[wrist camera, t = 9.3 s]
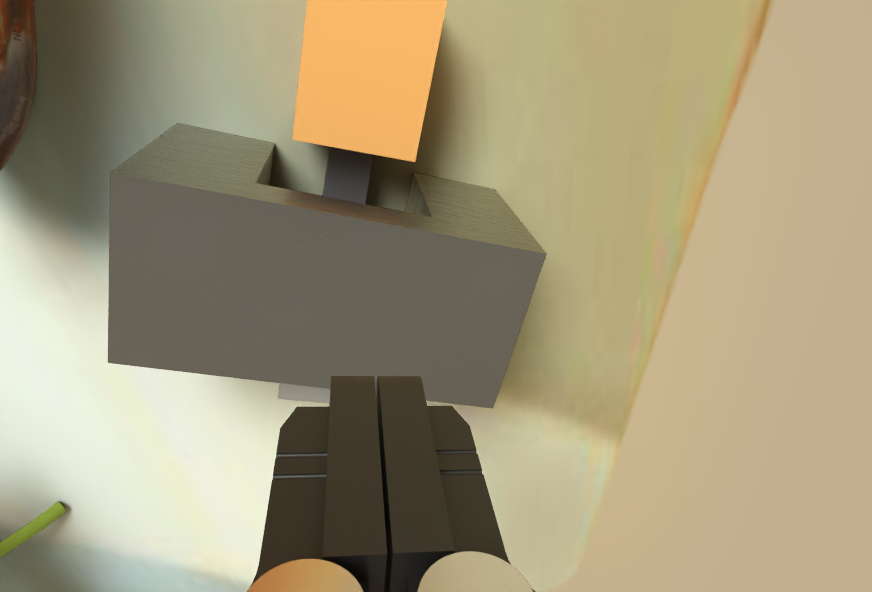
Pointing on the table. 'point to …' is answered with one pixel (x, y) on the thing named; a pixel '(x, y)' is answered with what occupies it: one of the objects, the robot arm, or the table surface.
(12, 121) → the tin
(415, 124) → the plug
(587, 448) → the table surface
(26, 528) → the water lily
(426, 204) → the housing
